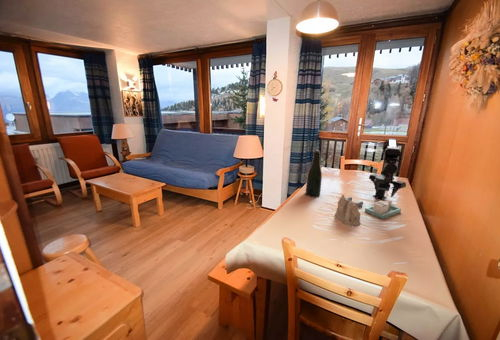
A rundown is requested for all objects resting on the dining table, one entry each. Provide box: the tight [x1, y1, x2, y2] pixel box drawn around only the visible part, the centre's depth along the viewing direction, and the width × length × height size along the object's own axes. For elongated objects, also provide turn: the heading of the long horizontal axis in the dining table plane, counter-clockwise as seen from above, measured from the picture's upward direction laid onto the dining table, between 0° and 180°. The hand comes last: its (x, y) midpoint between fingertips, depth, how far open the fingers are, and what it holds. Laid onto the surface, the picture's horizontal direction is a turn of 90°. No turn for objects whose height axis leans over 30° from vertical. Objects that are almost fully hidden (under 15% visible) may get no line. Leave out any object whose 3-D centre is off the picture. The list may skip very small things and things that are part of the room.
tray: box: [364, 204, 402, 220], centre depth 137 cm, size 19×11×2 cm, turn 119°
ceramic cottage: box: [334, 194, 362, 228], centre depth 127 cm, size 16×16×15 cm
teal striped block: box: [373, 199, 393, 214], centre depth 136 cm, size 12×5×6 cm, turn 119°
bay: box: [345, 196, 364, 208], centre depth 147 cm, size 7×9×3 cm
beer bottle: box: [305, 149, 323, 198], centre depth 158 cm, size 10×10×33 cm
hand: (383, 194), depth 133 cm, fingers open, 9 cm apart
